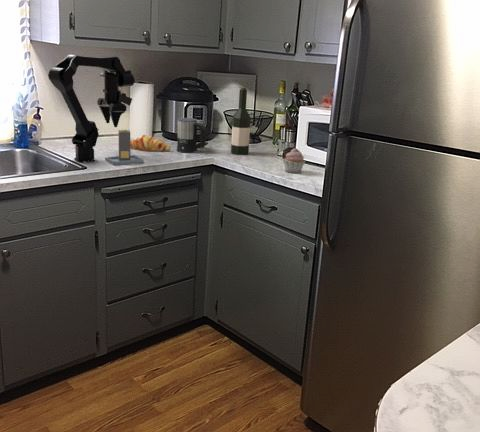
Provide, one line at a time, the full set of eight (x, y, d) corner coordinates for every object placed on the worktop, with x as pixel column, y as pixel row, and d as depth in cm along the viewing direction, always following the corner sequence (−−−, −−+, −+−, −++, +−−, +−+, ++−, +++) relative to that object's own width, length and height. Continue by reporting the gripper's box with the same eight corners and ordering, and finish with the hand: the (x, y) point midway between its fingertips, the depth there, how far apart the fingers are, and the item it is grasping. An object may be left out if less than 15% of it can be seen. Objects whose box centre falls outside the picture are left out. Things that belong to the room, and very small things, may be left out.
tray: (114, 165, 226) (113, 161, 226) (105, 160, 233) (105, 157, 233) (143, 162, 233) (143, 159, 233) (134, 158, 240) (134, 155, 240)
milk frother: (174, 152, 258) (175, 119, 254) (179, 146, 273) (180, 115, 269) (206, 154, 258) (207, 121, 254) (208, 148, 273) (210, 117, 269)
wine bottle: (246, 155, 260) (250, 89, 251) (228, 154, 261) (232, 87, 252) (250, 152, 268) (254, 87, 259) (232, 150, 269) (236, 86, 260)
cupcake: (291, 175, 228) (293, 150, 225) (277, 170, 235) (279, 146, 232) (309, 173, 233) (311, 149, 230) (294, 168, 240) (296, 145, 237)
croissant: (171, 157, 263) (174, 141, 265) (167, 151, 254) (170, 134, 255) (127, 153, 265) (130, 137, 267) (121, 146, 255) (124, 129, 257)
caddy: (119, 161, 230) (118, 130, 226) (118, 159, 235) (118, 128, 231) (130, 161, 231) (130, 131, 227) (129, 159, 236) (129, 128, 232)
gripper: (138, 90, 231) (138, 128, 236) (121, 84, 246) (121, 120, 251) (112, 90, 225) (112, 129, 230) (96, 84, 240) (97, 121, 245)
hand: (111, 125), depth 239 cm, fingers open, 9 cm apart
